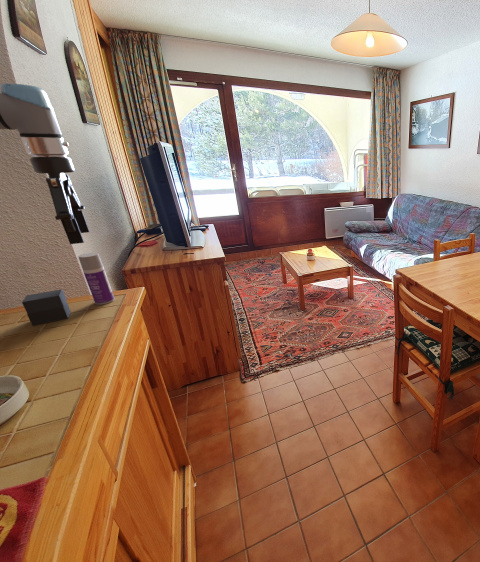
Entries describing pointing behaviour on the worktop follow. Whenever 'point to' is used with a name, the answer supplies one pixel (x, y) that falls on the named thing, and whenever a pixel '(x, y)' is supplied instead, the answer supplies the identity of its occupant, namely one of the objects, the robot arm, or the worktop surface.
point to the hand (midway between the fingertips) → (80, 237)
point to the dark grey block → (44, 301)
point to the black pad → (49, 315)
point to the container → (96, 278)
